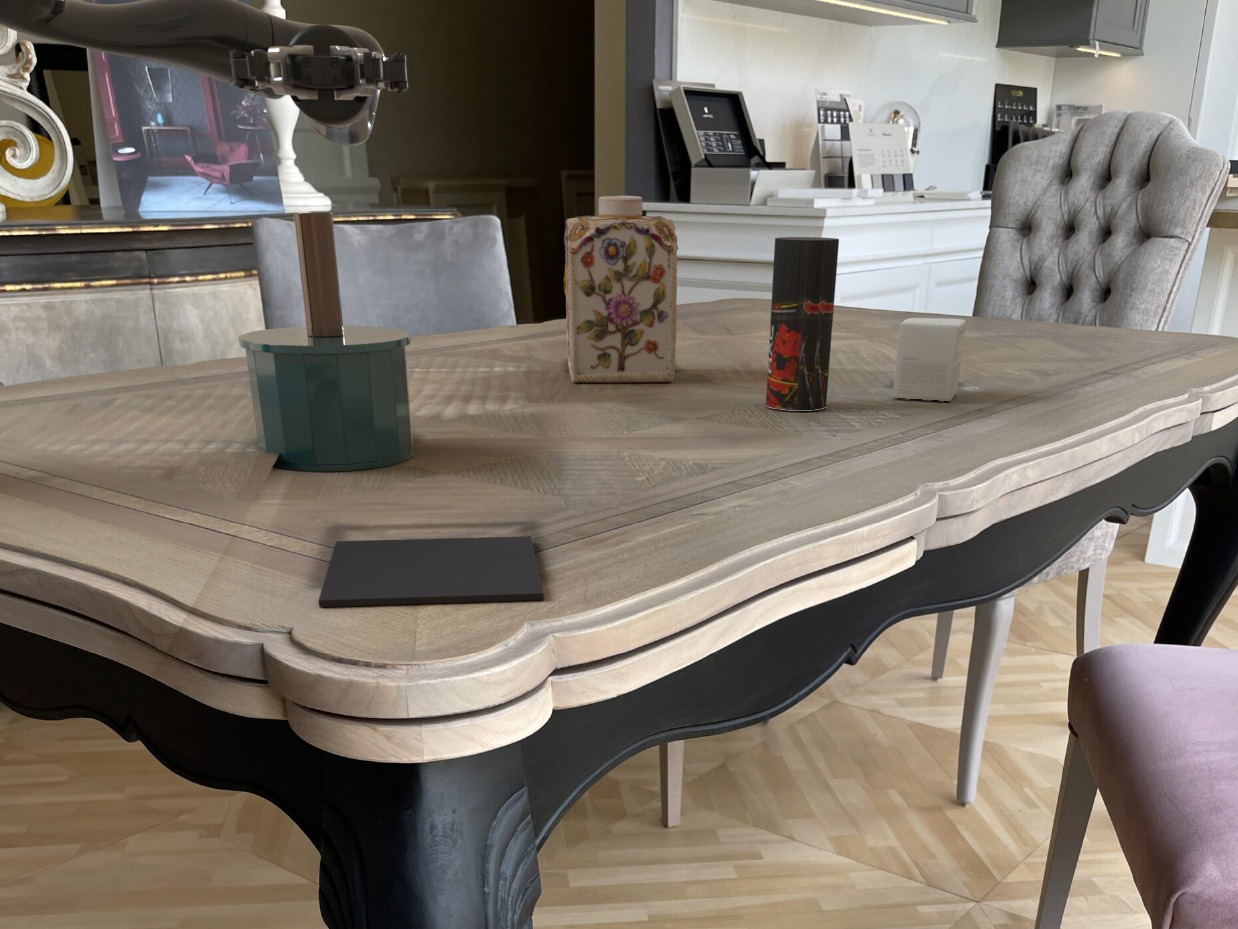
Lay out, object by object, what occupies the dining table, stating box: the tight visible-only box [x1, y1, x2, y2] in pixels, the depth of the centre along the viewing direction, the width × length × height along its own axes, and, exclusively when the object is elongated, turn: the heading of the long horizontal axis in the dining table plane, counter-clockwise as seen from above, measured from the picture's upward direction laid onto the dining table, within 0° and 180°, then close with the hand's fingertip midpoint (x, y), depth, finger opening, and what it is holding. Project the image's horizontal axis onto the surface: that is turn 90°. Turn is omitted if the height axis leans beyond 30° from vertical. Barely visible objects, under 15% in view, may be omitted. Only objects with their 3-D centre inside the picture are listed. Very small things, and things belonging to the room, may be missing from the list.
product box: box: [892, 317, 967, 402], centre depth 128 cm, size 6×6×7 cm
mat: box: [318, 535, 545, 608], centre depth 72 cm, size 12×12×1 cm
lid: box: [238, 211, 412, 354], centre depth 95 cm, size 13×13×10 cm
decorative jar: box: [563, 195, 679, 384], centre depth 136 cm, size 12×12×18 cm
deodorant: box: [765, 236, 840, 410], centre depth 120 cm, size 6×6×15 cm
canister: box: [245, 346, 414, 473], centre depth 99 cm, size 12×12×8 cm
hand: (314, 67), depth 99 cm, fingers open, 8 cm apart
